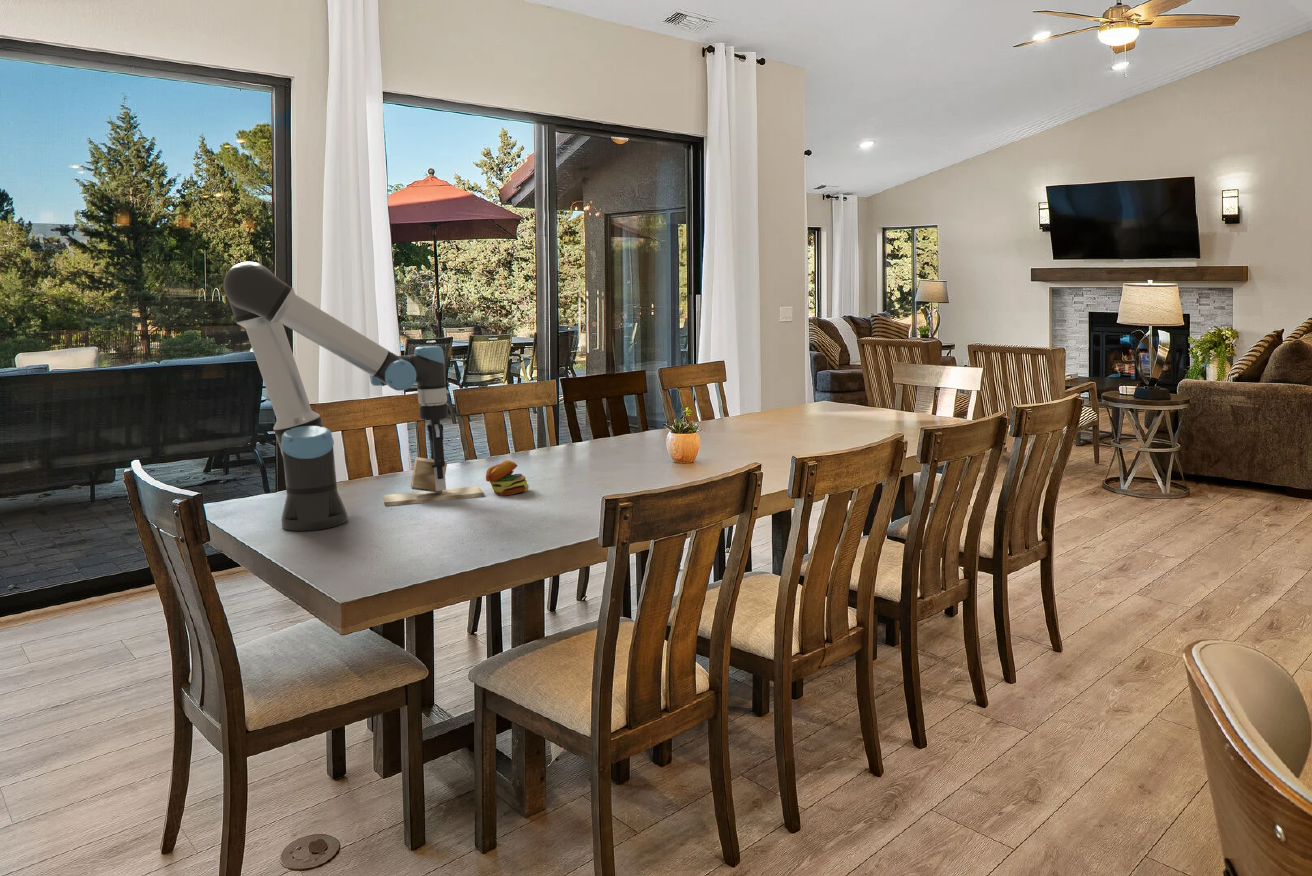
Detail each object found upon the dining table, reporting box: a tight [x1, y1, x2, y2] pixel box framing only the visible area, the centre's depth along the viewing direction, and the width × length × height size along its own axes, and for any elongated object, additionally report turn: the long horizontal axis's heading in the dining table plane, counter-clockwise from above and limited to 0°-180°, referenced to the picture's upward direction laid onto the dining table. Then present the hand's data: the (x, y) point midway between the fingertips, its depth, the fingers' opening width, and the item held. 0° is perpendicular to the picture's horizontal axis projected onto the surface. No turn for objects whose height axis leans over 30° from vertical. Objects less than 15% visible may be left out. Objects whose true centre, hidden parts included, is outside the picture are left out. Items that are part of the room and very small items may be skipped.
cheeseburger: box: [485, 459, 529, 496], centre depth 254 cm, size 10×11×10 cm
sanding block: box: [410, 456, 448, 493], centre depth 250 cm, size 8×5×8 cm, turn 110°
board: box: [382, 485, 485, 507], centre depth 251 cm, size 26×9×1 cm, turn 108°
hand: (439, 487), depth 251 cm, fingers closed on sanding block, 5 cm apart
